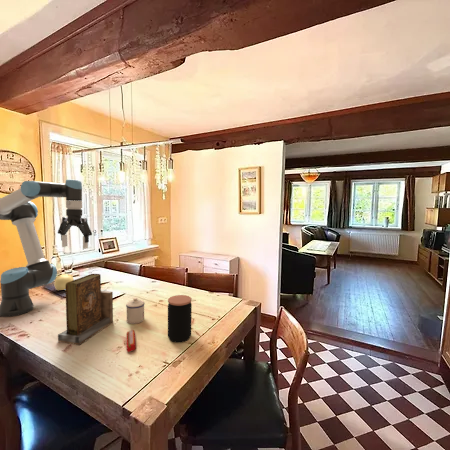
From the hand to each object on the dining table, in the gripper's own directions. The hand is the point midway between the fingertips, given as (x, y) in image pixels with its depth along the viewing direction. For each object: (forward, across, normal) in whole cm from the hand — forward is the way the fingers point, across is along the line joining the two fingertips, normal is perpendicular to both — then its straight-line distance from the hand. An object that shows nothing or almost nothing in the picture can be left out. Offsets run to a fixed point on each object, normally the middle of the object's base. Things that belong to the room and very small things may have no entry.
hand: (75, 247), depth 139 cm
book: (+35, +23, -18) cm, 46 cm away
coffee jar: (+35, +67, -10) cm, 76 cm away
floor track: (+36, +23, -17) cm, 46 cm away
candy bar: (+36, +48, -20) cm, 64 cm away
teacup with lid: (+36, +37, 0) cm, 51 cm away
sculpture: (+37, -36, +27) cm, 58 cm away
